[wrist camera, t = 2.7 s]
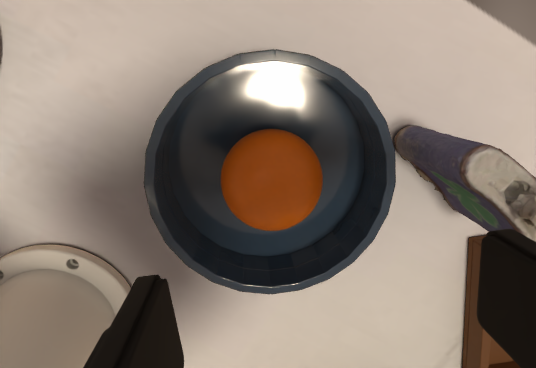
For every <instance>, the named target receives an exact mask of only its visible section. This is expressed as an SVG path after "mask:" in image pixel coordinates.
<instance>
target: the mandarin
mask: <svg viewBox="0 0 536 368" xmlns="http://www.w3.org/2000/svg"><path fill="white" fill-rule="evenodd" d="M322 184H323V176H322V169H321V165H320V162H319V160H318V157H317V156H316V154H315V152H314V151H313V149H312V148H311V147H310V146H309V144H307V143H306V142H305V141H304V140H303V139H301V138H300V137H299V136H297V135H295V134H293V133H291V132H288V131H285V130H280V129H263V130H258V131H255V132H252V133H250V134H248V135H246V136H245V137H243V138H242V139H240V140H239V141H238V142H237V143H236V144H235V145H234V146H233V147H232V148H231V150H230V151H229V153H228V154H227V156H226V158H225V160H224V163H223V166H222V171H221V189H222V194H223V197H224V199H225V202H226V203H227V205H228V207H229V209H230V210H231V211H232V213H233V214H234V215H235V216H236V217H237V218H238V219H240V220H241V221H242V222H244V223H245V224H247V225H249V226H251V227H253V228H256V229H260V230H265V231H278V230H284V229H287V228H290V227H292V226H294V225H296V224H298V223H300V222H301V221H303V220H304V219H305V218H306V217H307V216H308V215H309V214H310V213H311V212H312V210H313V209H314V208H315V206H316V204H317V202H318V200H319V197H320V195H321V191H322Z"/></svg>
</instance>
